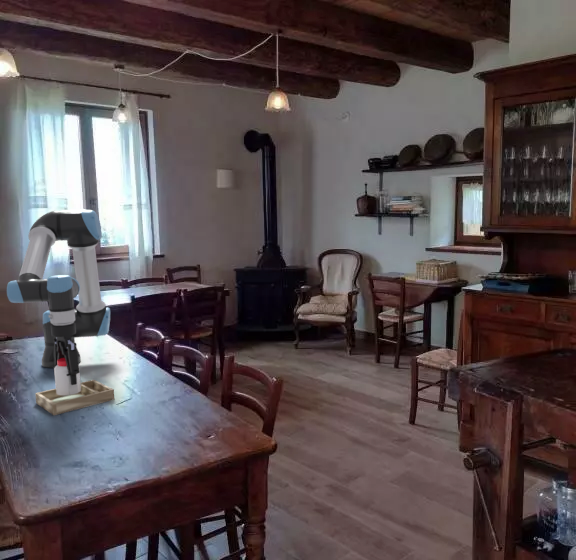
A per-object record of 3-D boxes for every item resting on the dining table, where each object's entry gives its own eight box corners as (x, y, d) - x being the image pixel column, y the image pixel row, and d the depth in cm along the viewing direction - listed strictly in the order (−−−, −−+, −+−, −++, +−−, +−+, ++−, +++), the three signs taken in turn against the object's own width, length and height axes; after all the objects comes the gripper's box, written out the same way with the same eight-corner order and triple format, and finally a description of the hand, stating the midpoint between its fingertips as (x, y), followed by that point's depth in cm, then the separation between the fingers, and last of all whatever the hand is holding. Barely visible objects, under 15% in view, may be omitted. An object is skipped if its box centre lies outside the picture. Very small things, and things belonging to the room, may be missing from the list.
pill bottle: (50, 393, 185) (48, 361, 184) (69, 386, 192) (67, 355, 190) (67, 396, 181) (64, 363, 180) (86, 389, 188) (83, 357, 187)
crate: (36, 403, 188) (35, 393, 187) (94, 389, 201) (93, 379, 200) (53, 415, 176) (52, 404, 175) (114, 399, 189) (113, 389, 189)
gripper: (40, 320, 189) (45, 386, 192) (63, 329, 174) (69, 401, 176) (62, 317, 194) (68, 381, 197) (87, 325, 178) (92, 395, 181)
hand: (68, 390), depth 187 cm, fingers closed on pill bottle, 8 cm apart
